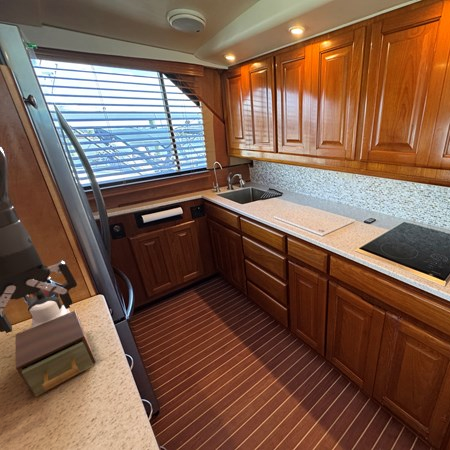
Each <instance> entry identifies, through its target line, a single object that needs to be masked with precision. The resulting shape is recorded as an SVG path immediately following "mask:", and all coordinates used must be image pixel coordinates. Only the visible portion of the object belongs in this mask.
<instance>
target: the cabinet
mask: <svg viewBox="0 0 450 450" xmlns="http://www.w3.org/2000/svg"><path fill="white" fill-rule="evenodd" d="M80 340H81V341H83V343H84V345H85V348H86V350H87V352H88V354H89V356H90V358H91V361H92V363H93V365H94V364H95V363H97V361H96V359H95V356H94V352H93V350H92V348H91V345H90V342H89V339H88V336H87V333H86V332H85V330H84V327H83V325H82V322H81V320H80V318H79V315H78V314H77V311H76V310H73V311H70V313H68V314H65V315H63V316H60V317H58V318H55V319H53V320H50V321H48V322H45V323H43V324H40V325H38V326H35V327H33V328H31V327H30V328H28V329H26V330H23V331H21V332H18V333H15V369H16V371H17V373H18V374H19V376H20V377H21V379H22V380H23V382H24V384H25V385H26V386H27V389H28V390H29V392H30V393H31V395H32V396H33V397H34V396H35V394H34V392H33V391H32V389H31V388H30V386H29V384H28V383H27V381H26V379H25V378H24V376H23V375H22V370H24V369H26V368H27V365H29V364H31V363H33V362H36V361H38V360H40V359H42V358H44V357H46V356H48V355H50V354H52V353H55V352H57V351H59V350H61V349H63V348H65V347H67V346H69V345H71V344H74V343H76V342H78V341H80ZM35 397H36V396H35Z"/></svg>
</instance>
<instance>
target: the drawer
mask: <svg viewBox="0 0 450 450" xmlns="http://www.w3.org/2000/svg"><path fill="white" fill-rule="evenodd" d="M93 366H94V364H93V363H92V361H91V358H90V356H89V354H88V352H87V350H86V348H85V345H84V343H83V341H81V340H80V341H78V342H76V343H74V344H71V345H69V346H67V347H65V348H63V349H61V350H59V351H57V352H55V353H52V354H50V355H48V356H46V357H44V358H42V359H40V360H38V361H36V362H33V363H31V364H29V365H27V368H26V369H24V370H22V375H23V376H24V378H25V379H26V381H27V383H28V384H29V386H30V388H31V389H32V391H33V392H34V394H35V397H38V396H40V395H42V394H44V393H45V392H47V391H49V390H51V389H52V388H55V387H57V386H58V385H60V384H62V383H64V382H67V381H68V380H69V379H71V378H73V377H75V376H76V375H78V374H80V373H82V372H84V371H86V370H87V369H90V368H92V367H93Z"/></svg>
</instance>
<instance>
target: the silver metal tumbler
mask: <svg viewBox="0 0 450 450" xmlns="http://www.w3.org/2000/svg"><path fill="white" fill-rule="evenodd" d="M47 279H50V280H52V278H51V276H50V275H49V276H48V278H47ZM47 297H58V298H59V301H60V302H61V298H60V296H59V293H56V292H53V291H51V292H50V291H47V290H44V289H41V290H39V292H37V293H34V294H29V295H26V296H24V297H22V298H21V299H22V300H23V302H24V304H25V305H26V306H27V308H29V306H30V305H31V304H33V303H34V302H36V301H38V300H40V299H43V298H47Z"/></svg>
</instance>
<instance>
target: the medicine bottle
mask: <svg viewBox="0 0 450 450" xmlns="http://www.w3.org/2000/svg"><path fill="white" fill-rule="evenodd" d="M59 299H60V297H59V298H58V297H47V298H43V299H40V300H38V301H36V302H34V303H33V304H31V305H30V306H29V307H27V311H28V314H29V315H30V317H31V318H32V321H31V326H30V328H33V327H35V326H38V325H40V324H43V323H45V322H48V321H50V320H53V319H55V318H58V317H60V316H63V315H65V314H68V313H70V312H71V311H70V308H68V309H66V308H65V306H64V304H63V305H62V303H61V300H60V301H59Z"/></svg>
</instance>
